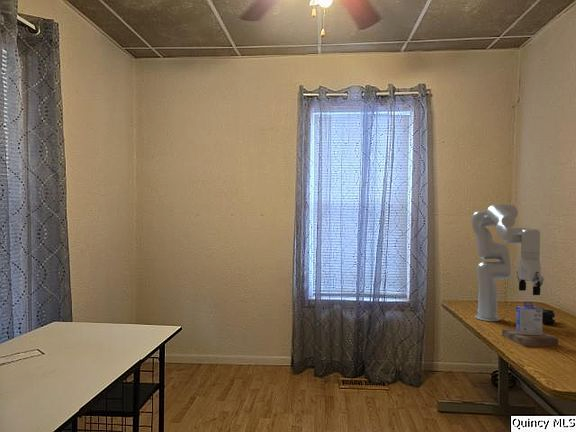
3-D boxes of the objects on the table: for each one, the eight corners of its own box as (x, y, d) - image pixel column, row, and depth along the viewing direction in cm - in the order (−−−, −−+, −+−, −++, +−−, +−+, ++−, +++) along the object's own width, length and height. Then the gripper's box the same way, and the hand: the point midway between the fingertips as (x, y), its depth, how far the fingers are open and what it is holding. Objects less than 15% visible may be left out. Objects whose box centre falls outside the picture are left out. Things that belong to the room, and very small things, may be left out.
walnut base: (502, 335, 201) (502, 329, 201) (533, 334, 202) (533, 328, 202) (524, 346, 185) (524, 339, 185) (558, 345, 186) (558, 338, 186)
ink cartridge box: (537, 332, 196) (538, 301, 196) (543, 336, 191) (543, 304, 190) (515, 331, 197) (515, 300, 197) (519, 334, 192) (520, 303, 192)
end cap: (537, 319, 231) (537, 307, 231) (552, 321, 228) (552, 309, 228) (538, 324, 222) (539, 311, 222) (554, 325, 219) (554, 313, 219)
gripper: (510, 253, 202) (509, 288, 202) (535, 258, 184) (534, 297, 185) (525, 253, 202) (524, 288, 203) (551, 258, 185) (550, 296, 186)
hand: (529, 292), depth 194 cm, fingers open, 9 cm apart
